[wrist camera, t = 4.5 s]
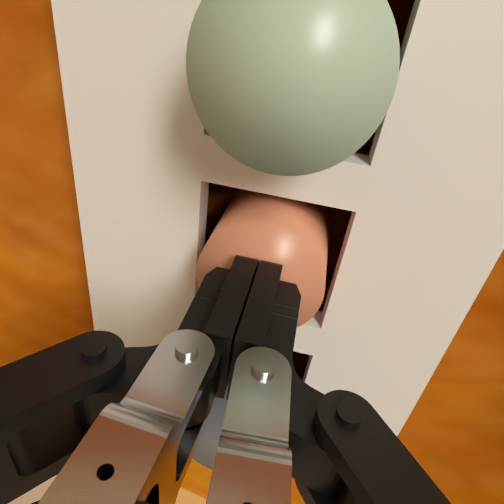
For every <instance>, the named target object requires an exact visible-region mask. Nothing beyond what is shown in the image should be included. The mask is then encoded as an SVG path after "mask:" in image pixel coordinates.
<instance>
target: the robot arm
mask: <svg viewBox="0 0 504 504" xmlns="http://www.w3.org/2000/svg"><path fill="white" fill-rule="evenodd" d="M258 265H259V266H258ZM282 267H283V265H282V264H277V263H273V262H268V261H264V260H260V263H259V260H258V259H254V258H249V257H245V256H240V255H236V257H235V259H234V261H233V264H232V266H231V268H230V269H226V268H221V267H216V268H214V269H213V270H211V271H210V272H209V273H207V274H206V275H205V277H204V279H203V281H202V283H201V285H200V288H199V289H198V291H197V293H196V295H195V297H194V299H193V301H192V303H191V305H190V307H189V309H188V311H187V313H186V314H185V316H184V318H183V320H182V322H181V324H180V326H179V328H178V330H177V331H175V332H172V333H170V334H169V335H167V336H166V337H165V338H163V340H162V341H161V342H160V344H158V345H154V346H147V347H125V346H124V342H123V341H122V339H121V338H120V337H119V336H117V335H116V334H114V333H112V332H108V331H91V332H87V333H84V334H81V335H79V336H76V337H74V338H71V339H69V340H66V341H64V342H61V343H59V344H57V345H54V346H52V347H49V348H47V349H44V350H42V351H39V352H37V353H34V354H32V355H29V356H27V357H24V358H22V359H19V360H17V361H15V362H12V363H10V364H7V365H5V366H2V367H0V504H7V503H9V502H11V501H13V500H14V499H16V498H18V497H19V496H21V495H23V494H24V493H26V492H28V491H29V490H31V489H33V488H34V487H36V486H38V485H40V484H41V483H43V482H45V481H46V480H48V479H50V478H51V477H53V476H55V475H57V474H58V473H59V474H58V475H57V477H56V478H55V479H54V481H53V482H52V484H51V485H50V487H49V488H48V490H47V491H46V493H45V494H44V495H43V497H42V498H41V500H39V501H37V502H34V503H32V504H175V502H176V498H177V494H178V491H179V488H180V486H181V483H182V481H183V479H184V476H185V474H186V471H187V469H188V467H189V464H190V462H191V459H192V457H193V455H194V452H195V450H196V448H197V445H198V443H199V440H200V438H201V436H202V433H203V431H204V428H205V426H206V423H207V420H208V415H209V413H210V411H211V408H212V405H213V402H214V399H215V397H218V398H222V399H224V396H225V393H226V390H227V387H228V390H227V397H226V399H227V400H228V402H227V407H226V412H225V417H224V422H223V427H222V432H221V435H220V438H219V442H218V447H217V452H216V457H215V462H214V466H213V471H212V476H211V481H210V486H209V491H208V496H207V501H206V504H291V480H292V477H293V478H295V482H296V485H297V488H298V490H299V492H300V494H301V496H302V497H303V499H304V501H305V503H306V504H451V503H450V502H449V501H448V499H447V498H446V497H445V496H444V494H443V493H442V492H441V491H440V489H439V488H438V487H437V486H436V484H435V483H434V482H433V481H432V480H431V478H430V477H429V476H428V475H427V473H426V472H425V471H424V470H423V468H422V467H421V466H420V465H419V463H418V462H417V461H416V460H415V459H414V457H413V456H412V455H411V454H410V452H409V451H408V450H407V449H406V447H405V446H404V445H403V444H402V442H401V441H400V440H399V439H398V438H397V436H396V435H395V434H394V433H393V431H392V430H391V429H390V428H389V426H388V425H387V424H386V423H385V421H384V420H383V419H382V418H381V417H380V415H379V414H378V413H377V412H376V410H375V409H374V408H373V407H372V405H371V404H370V403H369V402H368V401H367V400H365V399H364V398H363V397H361V396H360V395H358V394H356V393H353V392H350V391H346V390H334V391H330V392H328V393H326V394H323V393H321V392H319V391H318V390H316V389H314V388H312V387H311V386H309V385H307V384H306V383H305V382H304V381H303V380H302V379H301V378H300V377H299V376H298V375H297V373H296V371H295V369H294V367H293V363H292V355H293V348H294V342H295V335H296V328H297V321H298V315H299V308H300V301H301V294H300V292H299V289H298V287H297V285H296V284H294V283H290V282H285V281H281V280H280V277H281V272H282Z"/></svg>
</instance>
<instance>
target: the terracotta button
mask: <svg viewBox="0 0 504 504" xmlns="http://www.w3.org/2000/svg"><path fill="white" fill-rule="evenodd" d="M329 230H330V223H329V216H328V213H327V210H326V208H325V206H323V205H318V204H313V203H308V202H303V201H298V200H293V199H288V198H283V197H279V196H274V195H269V194H264V193H259V192H254V191H249V190H244V189H240V190H239V191H238V192H237V193H236V194H235V195H234V197H233V198H232V200H231V201H230V203H229V205H228V207H227V208H226V210H225V212H224V214H223V215H222V217H221V219H220V220H219V222H218V224H217V226H216V227H215V229H214V231H213V233H212V234H211V236H210V238H209V239H208V241H207V243H206V245H205V246H204V248H203V250H202V252H201V254H200V256H199V258H198V261H197V266H196V279H197V285H198V288H200V285H201V283H202V281H203V279H204V277H205V275H206V274H207V273H209V272H210V271H211V270H213V269H214V268H216V267H221V268H226V269H230V268H231V266H232V264H233V261H234V259H235V257H236V255H240V256H245V257H249V258H254V259H258V260H259V263H260V260H264V261H268V262H273V263H277V264H282V265H283V267H282V272H281V277H280V280H281V281H285V282H290V283H294V284H296V285H297V287H298V289H299V292H300V294H301V301H300V308H299V315H298V321H297V327H299V326H301V325H303V324H304V323H306V322H307V321H309V320H310V319H311V318H312V317H313V316H314V315H315V314H316V312H317V311H318V310H319V308H320V306H321V304H322V301H323V299H324V294H325V284H326V270H327V257H328V244H329ZM258 266H259V265H258Z"/></svg>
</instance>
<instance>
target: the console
mask: <svg viewBox="0 0 504 504" xmlns="http://www.w3.org/2000/svg"><path fill="white" fill-rule="evenodd" d="M200 2H201V0H51V4H52V12H53V20H54V27H55V35H56V43H57V50H58V58H59V65H60V73H61V81H62V88H63V96H64V104H65V111H66V119H67V126H68V134H69V142H70V149H71V157H72V165H73V172H74V180H75V187H76V195H77V203H78V210H79V218H80V226H81V233H82V241H83V248H84V256H85V264H86V271H87V279H88V287H89V294H90V302H91V309H92V317H93V325H94V331H108V332H112V333H114V334H116V335H117V336H119V337H120V338H121V339H122V341H123V342H124V346H125V347H147V346H154V345H158V344H160V342H161V341H162V340H163V338H165V337H166V336H167V335H169V334H170V333H172V332H175V331H177V330H178V328H179V326H180V324H181V322H182V320H183V318H184V316H185V314H186V313H187V311H188V309H189V307H190V305H191V303H192V301H193V299H194V297H195V295H196V293H197V291H198V289H199V288H198V285H197V279H196V266H197V261H198V258H199V256H200V254H201V252H202V250H203V248H204V246H205V234H206V220H207V206H208V191H209V183H214V184H219V185H224V186H229V187H234V188H239V189H244V190H249V191H254V192H259V193H264V194H269V195H274V196H279V197H283V198H288V199H293V200H298V201H303V202H308V203H313V204H318V205H323V206H328V207H333V208H338V209H343V210H348V211H352V213H351V217H350V220H349V224H348V227H347V230H346V234H345V237H344V240H343V244H342V247H341V251H340V254H339V257H338V261H337V264H336V267H335V271H334V274H333V278H332V281H331V284H330V288H329V291H328V294H327V298H326V301H325V305H324V308H323V311H317V312H316V314H315V315H314V316H313V317H312V318H311V319H310V320H309V321H307V322H306V323H304V324H303V325H301V326H299V327H297V328H296V335H295V342H294V348H293V351H295V352H299V353H303V354H308V355H309V358H308V362H307V365H306V369H305V372H304V375H303V379H302V380H303V381H304V382H305V383H306V384H307V385H309V386H311V387H312V388H314V389H316V390H318V391H319V392H321V393H323V394H326V393H328V392H330V391H334V390H346V391H350V392H353V393H356V394H358V395H360V396H361V397H363V398H364V399H365V400H367V401H368V402H369V403H370V404H371V405H372V407H373V408H374V409H375V410H376V412H377V413H378V414H379V415H380V417H381V418H382V419H383V420H384V421H385V423H386V424H387V425H388V426H389V428H390V429H391V430H392V431H393V433H394V434H395V435H396V436H398V434H399V433H400V431H401V429H402V427H403V426H404V424H405V422H406V420H407V418H408V417H409V415H410V413H411V411H412V410H413V408H414V406H415V404H416V403H417V401H418V399H419V397H420V396H421V394H422V392H423V390H424V388H425V387H426V385H427V383H428V381H429V380H430V378H431V376H432V374H433V373H434V371H435V369H436V367H437V366H438V364H439V362H440V360H441V358H442V357H443V355H444V353H445V351H446V350H447V348H448V346H449V344H450V343H451V341H452V339H453V337H454V336H455V334H456V332H457V330H458V328H459V327H460V325H461V323H462V321H463V320H464V318H465V316H466V314H467V313H468V311H469V309H470V307H471V306H472V304H473V302H474V300H475V298H476V297H477V295H478V293H479V291H480V290H481V288H482V286H483V284H484V283H485V281H486V279H487V277H488V276H489V274H490V272H491V270H492V269H493V267H494V265H495V263H496V261H497V260H498V258H499V256H500V254H501V253H502V251H503V249H504V0H415V1H414V4H413V8H412V11H411V15H410V18H409V21H408V25H407V28H406V31H405V35H404V38H403V42H402V45H401V48H400V66H399V75H398V81H397V85H396V89H395V93H394V96H393V99H392V101H391V104H390V107H389V109H388V111H387V113H386V115H385V117H384V119H383V121H382V122H381V124H380V125H379V127H378V128H377V130H376V133H375V136H374V139H373V143H372V146H371V149H370V153H369V155H365V154H360V153H354V154H353V155H351V156H350V157H348V158H347V159H345V160H344V161H342V162H340V163H339V164H337V165H335V166H333V167H331V168H328V169H326V170H323V171H320V172H317V173H312V174H308V175H301V176H280V175H272V174H268V173H264V172H260V171H258V170H255V169H253V168H250V167H248V166H246V165H244V164H242V163H240V162H239V161H237V160H236V159H234V158H233V157H231V156H230V155H229V154H227V153H226V152H225V151H224V150H223V149H222V148H221V147H220V146H219V145H218V144H217V143H216V142H215V141H214V140H213V138H212V137H211V136H210V135H209V133H208V132H207V130H206V129H205V127H204V126H203V124H202V122H201V120H200V119H199V117H198V115H197V113H196V110H195V108H194V105H193V102H192V99H191V96H190V92H189V88H188V82H187V75H186V50H187V41H188V36H189V31H190V27H191V24H192V21H193V18H194V15H195V13H196V11H197V8H198V6H199V4H200Z"/></svg>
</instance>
